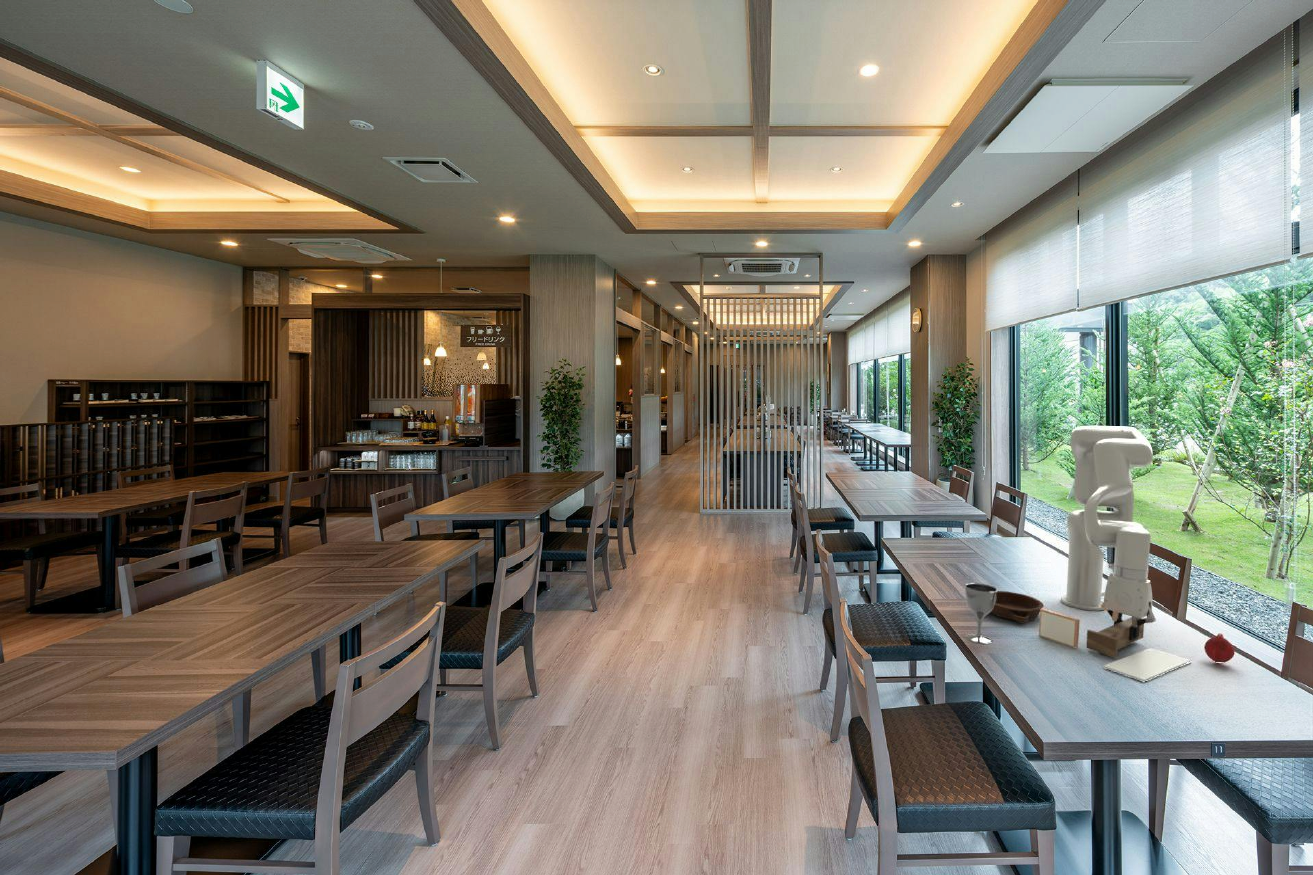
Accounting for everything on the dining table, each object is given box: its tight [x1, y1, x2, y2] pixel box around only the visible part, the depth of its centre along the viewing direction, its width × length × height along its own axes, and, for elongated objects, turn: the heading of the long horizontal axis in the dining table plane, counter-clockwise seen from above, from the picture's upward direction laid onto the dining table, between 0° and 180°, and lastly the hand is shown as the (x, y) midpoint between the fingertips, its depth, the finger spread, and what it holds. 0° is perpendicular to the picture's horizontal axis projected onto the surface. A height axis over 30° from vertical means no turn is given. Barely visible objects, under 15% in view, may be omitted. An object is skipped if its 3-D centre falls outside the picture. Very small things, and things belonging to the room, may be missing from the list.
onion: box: [1203, 632, 1235, 663], centre depth 163 cm, size 6×6×8 cm
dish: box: [989, 590, 1045, 623], centre depth 200 cm, size 18×22×5 cm
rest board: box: [1102, 647, 1192, 681], centre depth 162 cm, size 24×9×1 cm, turn 119°
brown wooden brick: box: [1086, 616, 1145, 659], centre depth 173 cm, size 19×7×5 cm, turn 118°
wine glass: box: [964, 582, 998, 645], centre depth 178 cm, size 8×8×15 cm
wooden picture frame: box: [1038, 607, 1081, 648], centre depth 177 cm, size 1×10×8 cm, turn 29°
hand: (1125, 636), depth 175 cm, fingers closed on brown wooden brick, 2 cm apart
